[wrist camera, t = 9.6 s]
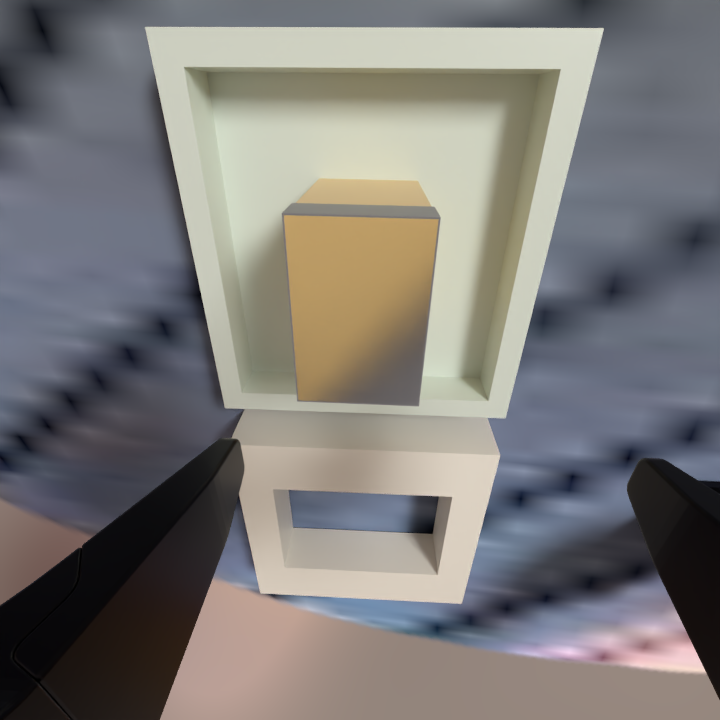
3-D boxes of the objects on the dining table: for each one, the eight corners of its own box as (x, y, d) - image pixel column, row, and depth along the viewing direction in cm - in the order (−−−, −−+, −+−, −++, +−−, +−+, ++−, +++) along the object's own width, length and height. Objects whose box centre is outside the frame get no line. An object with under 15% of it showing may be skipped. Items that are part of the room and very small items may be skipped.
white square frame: (487, 417, 23) (500, 455, 21) (455, 562, 30) (461, 603, 28) (245, 408, 24) (228, 444, 21) (270, 553, 31) (260, 593, 28)
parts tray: (570, 40, 14) (604, 28, 12) (493, 388, 22) (505, 418, 20) (179, 39, 15) (144, 26, 13) (239, 380, 23) (224, 408, 20)
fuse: (419, 179, 16) (440, 217, 10) (407, 316, 19) (418, 406, 14) (317, 176, 16) (281, 212, 10) (322, 313, 20) (296, 401, 14)
